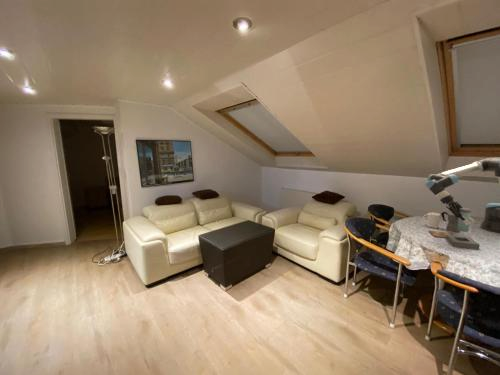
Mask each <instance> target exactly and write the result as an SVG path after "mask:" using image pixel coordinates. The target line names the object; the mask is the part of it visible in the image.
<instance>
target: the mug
mask: <svg viewBox="0 0 500 375" xmlns="http://www.w3.org/2000/svg"><path fill="white" fill-rule="evenodd" d="M426 216H427V220H426V219H425V218H424V217H426ZM440 218H441V214H440V213H437V212H428V213H427V214H424V215H423V217H422V219H423V221H424V222H426V226H427V227H429V228H434V229H438V228H439V227H440Z"/></svg>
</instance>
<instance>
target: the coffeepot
mask: <svg viewBox="0 0 500 375" xmlns="http://www.w3.org/2000/svg"><path fill="white" fill-rule="evenodd" d="M445 215H447V220H446V217H445ZM440 216H441V217H442V221H444V222H447V221H448V222H447V225H446V227H445V230H446V232H449V233H453V234H455V233H458V234H459V233H460V232H461V231H459V230H457V229H458V222H459V217H458V218H457V217H456V216H455V215H454V214H453V213H452V212H448V211H442V212H441V214H440Z"/></svg>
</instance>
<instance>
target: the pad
mask: <svg viewBox="0 0 500 375" xmlns="http://www.w3.org/2000/svg"><path fill="white" fill-rule="evenodd" d="M428 233H429V234H430V235H431V236H432V237H433V238H440V239H446V235H456V234H455V233H454V232H449V231H439V230H438V231H437V230H428Z"/></svg>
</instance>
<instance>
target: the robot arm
mask: <svg viewBox="0 0 500 375" xmlns="http://www.w3.org/2000/svg"><path fill="white" fill-rule="evenodd" d="M482 172H491V173H492V172H493V173H494V177H496V178H498V184H499V186H500V156H499V157H498V156H492V157H487V158H483V159H479V160H475V161H472V163H471V164H467V165H464V166H460V167H456V168H454V169H453V168H452V169H449V170H446V171H442V172H440V173H439V172H438V173H437V174H436V173H432V174H429V175H428V176H427V181H428V182H426V184H425V186H426V188H427V189H428V190H429V191H430V192H431V193H432V194H433V195H434V196H435V197H436V198H437V199H438V200H440V202H441V203H442V204H443V205H444V204H445V207H446V208H447V209H448V210H449V211H450V213H453V214H454V215H455V216H456V217H457V218H458V217H459V218H460V219H461V220H462V221H463V222H464V223H465V224H466V225H468V224H469V225H470V224H472V223H475V222H476V221H475V220H474V219H473V218H472V217H471V216H470V221H468V220H467V219H466V218H465V217H464V216H462V215H461V213H460V208H464V207H463V206H462V205H461V204H460V203H459V202H458V201H454V199H455V198H454V196H452V195H451V194H450V193H449V192H448V191H447V190H446V188H448V187H451V186H453V185H454V184H456V183H458V182H459V178H461V177H464V176H468V175H471V174H475V173H477V174H478V173H482ZM484 210H485V211H484V218H483V220H482V222H481V223H480V225H479V228H480V229H482V230H484V231H488V232H494V233H500V202H499V203H497V202H488V203H487V204H486V206H485V208H484Z"/></svg>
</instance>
